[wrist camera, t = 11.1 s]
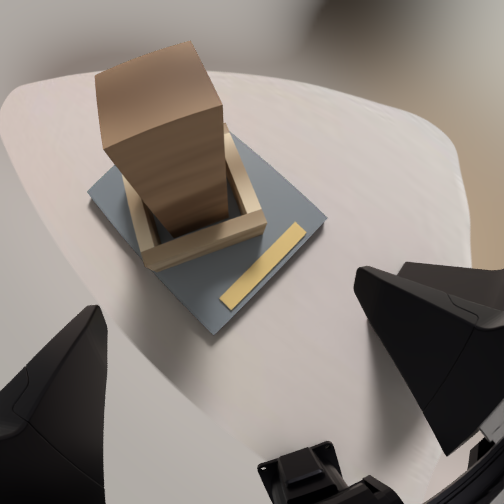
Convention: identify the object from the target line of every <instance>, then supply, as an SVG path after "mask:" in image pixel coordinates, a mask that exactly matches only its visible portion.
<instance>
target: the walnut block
mask: <svg viewBox="0 0 504 504" xmlns="http://www.w3.org/2000/svg"><path fill="white" fill-rule="evenodd" d="M95 86H96V97H97V107H98V116H99V124H100V131H101V138H102V145H103V150H104V151H105V152H106V154H107V155H108V156H109V158H110V159H111V160H112V162H113V163H114V164H115V166H116V167H117V168H118V169H119V171H120V172H121V173H122V175H123V176H124V177H125V178H126V180H127V181H128V182H129V184H130V185H131V186H132V187H133V189H134V190H135V191H136V192H137V194H138V195H139V196H140V197H141V199H142V200H143V201H144V202H145V204H146V205H147V206H148V207H149V209H150V210H151V211H152V212H153V214H154V215H155V216H156V217H157V218H158V220H159V221H160V222H161V223H162V225H163V226H164V227H165V228H166V229H167V231H168V232H169V233H170V234H171V235H172V237H173V238H176V237H179V236H182V235H184V234H187V233H189V232H192V231H195V230H197V229H200V228H202V227H205V226H208V225H210V224H213V223H216V222H219V221H221V220H224V219H227V218H229V213H228V197H227V181H226V163H225V145H224V125H223V105H222V103H221V100H220V98H219V96H218V94H217V92H216V90H215V88H214V86H213V84H212V82H211V80H210V78H209V76H208V74H207V72H206V70H205V68H204V66H203V64H202V62H201V60H200V58H199V56H198V54H197V52H196V50H195V48H194V46H193V44H192V43H191V41H187V42H184V43H180V44H177V45H173V46H170V47H167V48H164V49H161V50H158V51H154V52H151V53H149V54H146V55H143V56H140V57H138V58H135V59H132V60H130V61H127V62H125V63H122V64H120V65H117V66H115V67H113V68H110V69H108V70H106V71H103V72H101V73H99V74H97V75H95Z"/></svg>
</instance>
